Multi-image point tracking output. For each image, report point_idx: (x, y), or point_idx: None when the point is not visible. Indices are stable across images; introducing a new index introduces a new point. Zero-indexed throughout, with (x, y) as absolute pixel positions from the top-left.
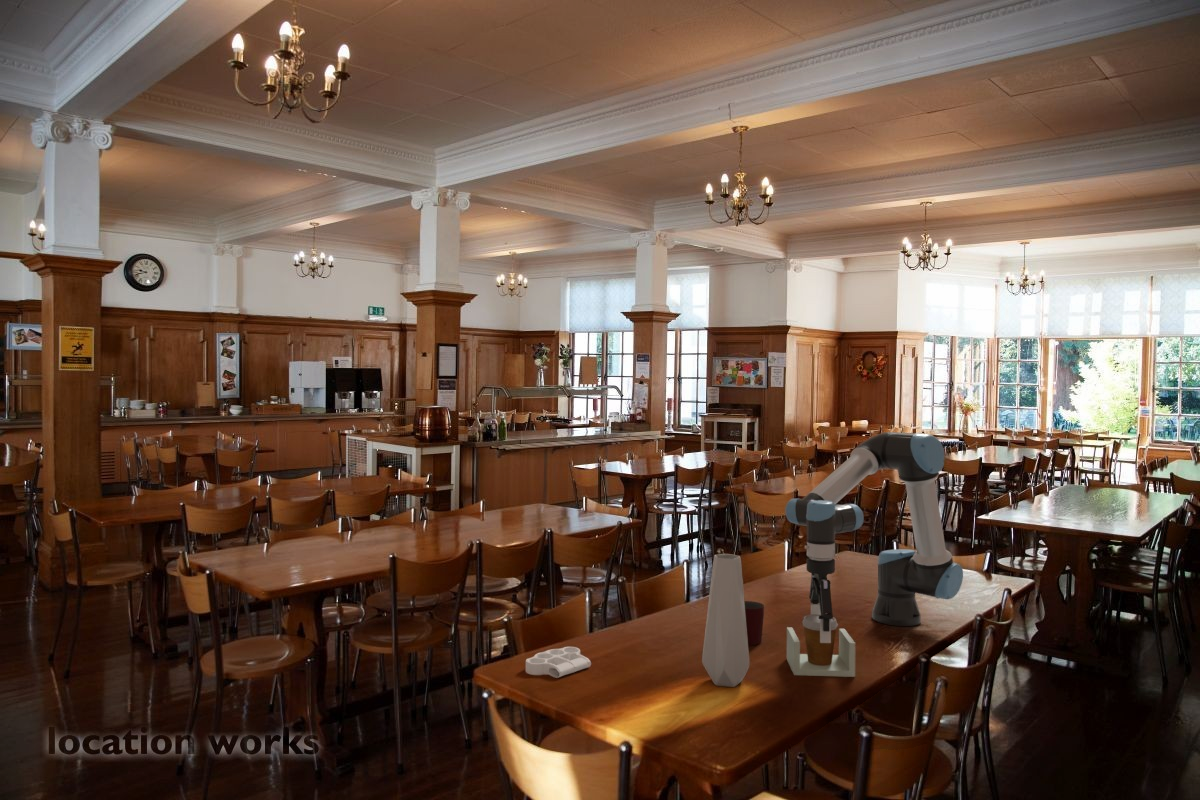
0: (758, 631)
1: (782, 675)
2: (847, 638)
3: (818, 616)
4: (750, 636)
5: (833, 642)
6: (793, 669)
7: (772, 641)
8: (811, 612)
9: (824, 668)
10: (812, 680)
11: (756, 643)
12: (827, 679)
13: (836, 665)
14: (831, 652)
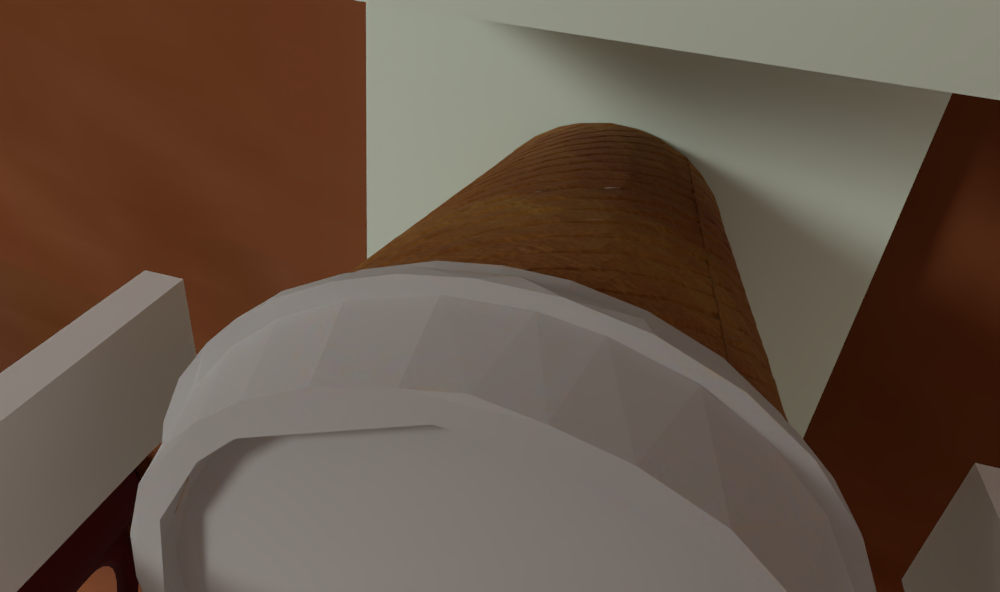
0: None
1: None
2: (830, 43)
3: (223, 566)
4: (102, 530)
5: (709, 256)
6: None
7: (20, 331)
8: (27, 575)
9: (803, 272)
10: (937, 409)
11: None
12: (959, 276)
13: (737, 106)
14: (708, 218)
